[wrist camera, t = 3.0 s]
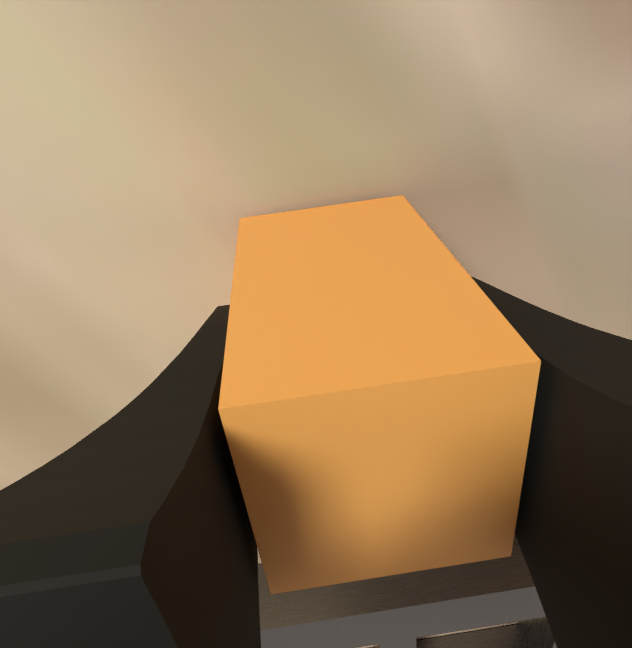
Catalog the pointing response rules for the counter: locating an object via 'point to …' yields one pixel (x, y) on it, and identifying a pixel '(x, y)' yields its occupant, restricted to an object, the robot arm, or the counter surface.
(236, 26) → the counter surface
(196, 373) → the robot arm
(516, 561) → the gray board with holes
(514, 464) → the square block
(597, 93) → the counter surface
